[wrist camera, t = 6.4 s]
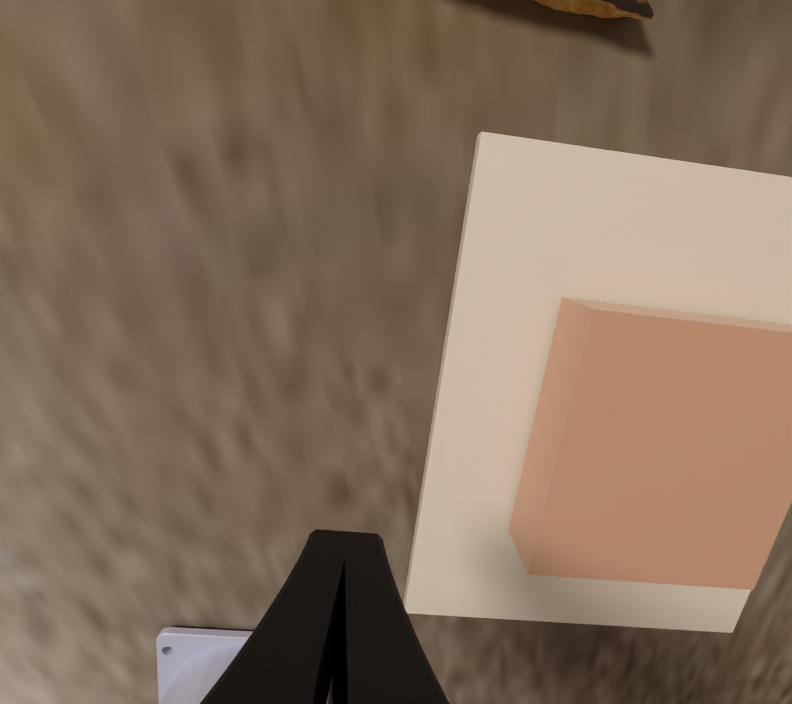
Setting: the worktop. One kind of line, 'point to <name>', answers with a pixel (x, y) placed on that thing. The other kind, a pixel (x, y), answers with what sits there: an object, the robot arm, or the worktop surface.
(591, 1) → the shard
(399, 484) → the worktop surface
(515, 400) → the cutting board
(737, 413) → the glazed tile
